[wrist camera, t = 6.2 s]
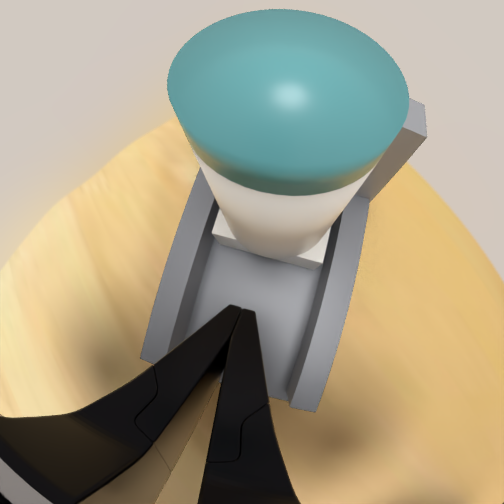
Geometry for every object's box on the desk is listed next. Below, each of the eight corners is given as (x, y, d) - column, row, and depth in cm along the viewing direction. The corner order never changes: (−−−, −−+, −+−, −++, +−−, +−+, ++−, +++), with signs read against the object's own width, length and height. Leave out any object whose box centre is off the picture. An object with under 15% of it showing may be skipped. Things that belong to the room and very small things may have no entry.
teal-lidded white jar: (312, 277, 14) (413, 207, 4) (217, 251, 15) (120, 138, 4) (331, 192, 15) (405, 40, 5) (244, 170, 15) (214, 3, 5)
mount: (309, 400, 14) (352, 492, 5) (157, 354, 15) (53, 391, 6) (360, 199, 16) (431, 108, 7) (217, 162, 17) (180, 51, 8)
